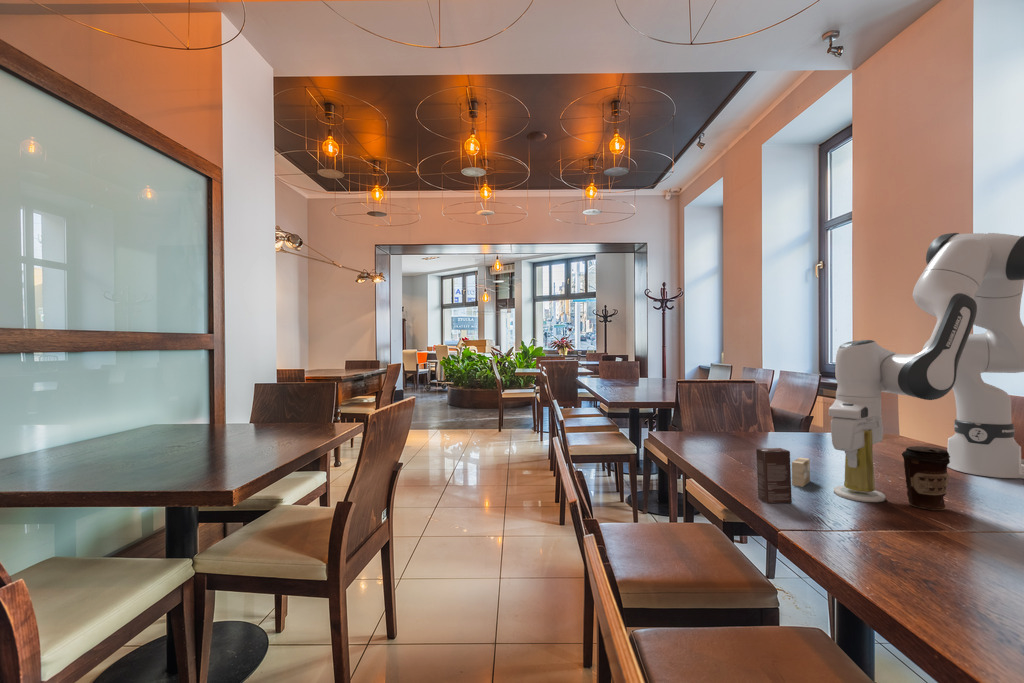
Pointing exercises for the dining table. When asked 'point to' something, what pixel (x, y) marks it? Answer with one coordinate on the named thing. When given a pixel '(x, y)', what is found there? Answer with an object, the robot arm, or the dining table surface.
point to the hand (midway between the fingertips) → (859, 464)
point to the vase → (862, 468)
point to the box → (774, 475)
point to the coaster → (859, 495)
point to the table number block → (800, 471)
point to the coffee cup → (926, 476)
